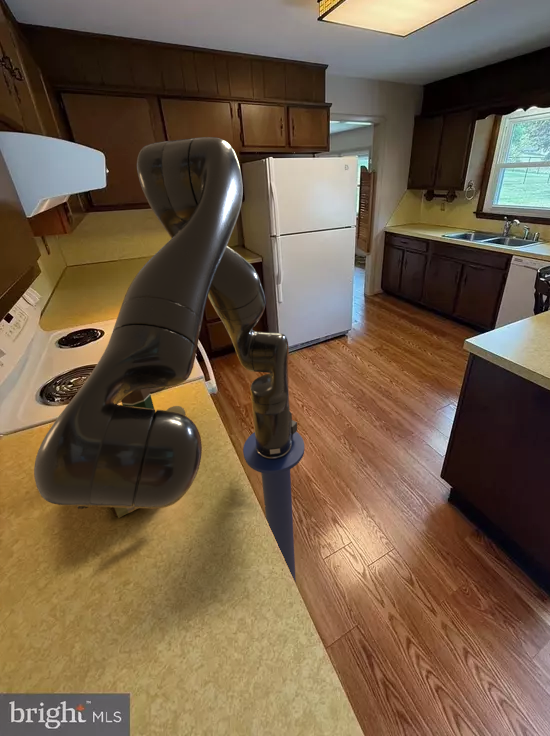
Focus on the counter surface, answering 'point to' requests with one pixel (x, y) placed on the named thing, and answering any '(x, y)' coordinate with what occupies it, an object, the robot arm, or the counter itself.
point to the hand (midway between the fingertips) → (137, 476)
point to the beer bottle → (138, 399)
